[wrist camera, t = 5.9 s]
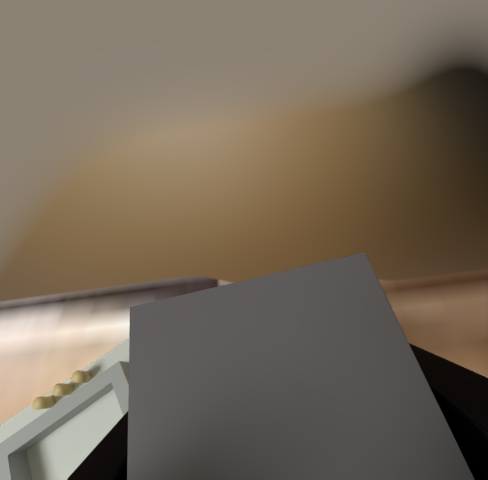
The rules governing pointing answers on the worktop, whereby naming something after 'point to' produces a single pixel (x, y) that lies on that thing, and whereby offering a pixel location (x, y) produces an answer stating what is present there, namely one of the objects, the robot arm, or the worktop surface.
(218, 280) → the worktop surface
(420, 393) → the block
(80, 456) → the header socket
